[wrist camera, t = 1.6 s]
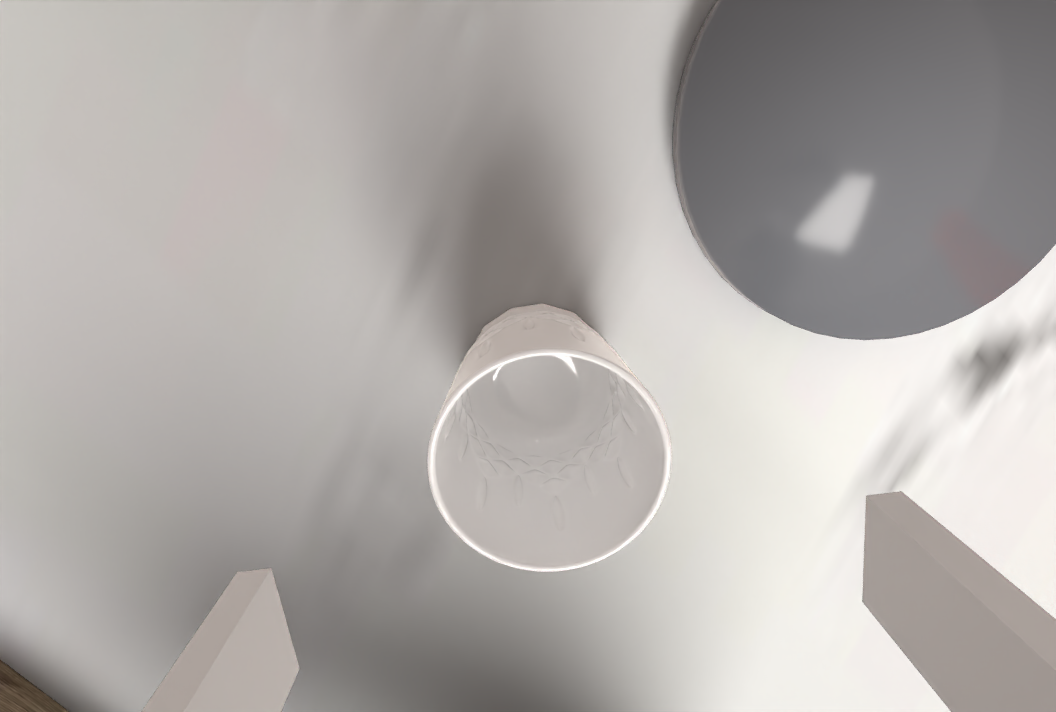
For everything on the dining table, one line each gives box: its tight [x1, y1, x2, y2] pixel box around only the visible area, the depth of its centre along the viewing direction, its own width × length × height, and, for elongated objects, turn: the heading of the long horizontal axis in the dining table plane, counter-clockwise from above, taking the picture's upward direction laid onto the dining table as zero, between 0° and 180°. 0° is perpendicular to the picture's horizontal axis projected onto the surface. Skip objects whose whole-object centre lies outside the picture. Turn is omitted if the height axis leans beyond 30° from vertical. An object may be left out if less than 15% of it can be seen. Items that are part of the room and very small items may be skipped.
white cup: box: [427, 303, 672, 572], centre depth 25 cm, size 8×8×10 cm
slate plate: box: [673, 0, 1056, 340], centre depth 26 cm, size 18×18×2 cm
